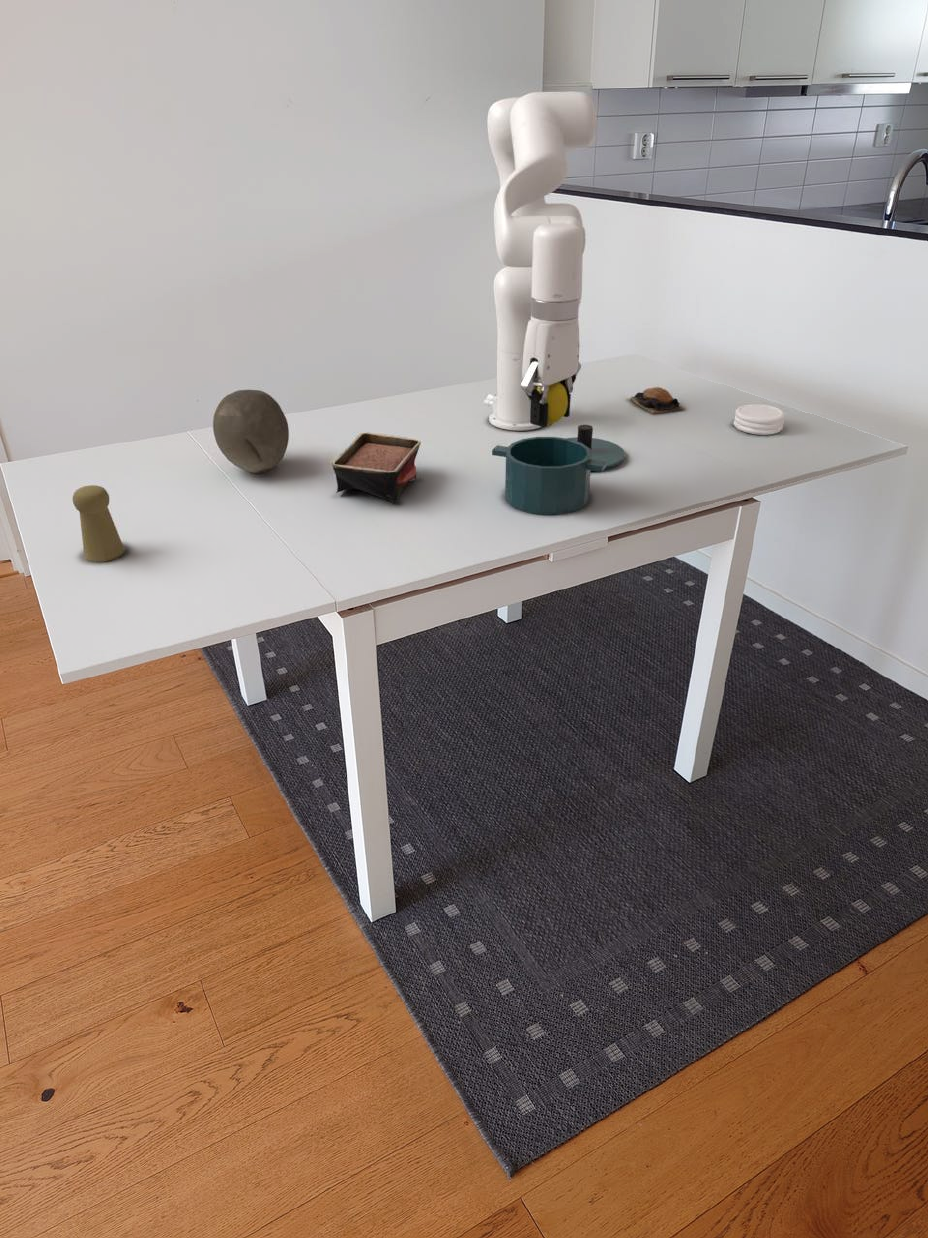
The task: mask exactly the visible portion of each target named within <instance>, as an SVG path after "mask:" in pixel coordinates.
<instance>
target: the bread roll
mask: <svg viewBox="0 0 928 1238" xmlns="http://www.w3.org/2000/svg"><path fill="white" fill-rule="evenodd" d="M630 401H631V402H633V403H635V404H636V405H637V406H638V407H640V408H642V409H643V410H644V411H647V412H648V413H650V414H653V415H655V414H656V415H659V414H666V413H669V412H670V413H673V412H678V411H682V410H683V409H682V408H683V407H681V406H680V402H679V400H678V399H677V398H674V397H673V396H672V394H671V393H670V392H669V391H668V390H666V389H665V388H662V387H659V386H656V387H651V388H649V387H648V388H646V389H644V390H643V392H639V391H638V392H636V394H635V395H634V396H631V397H630Z"/></svg>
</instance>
